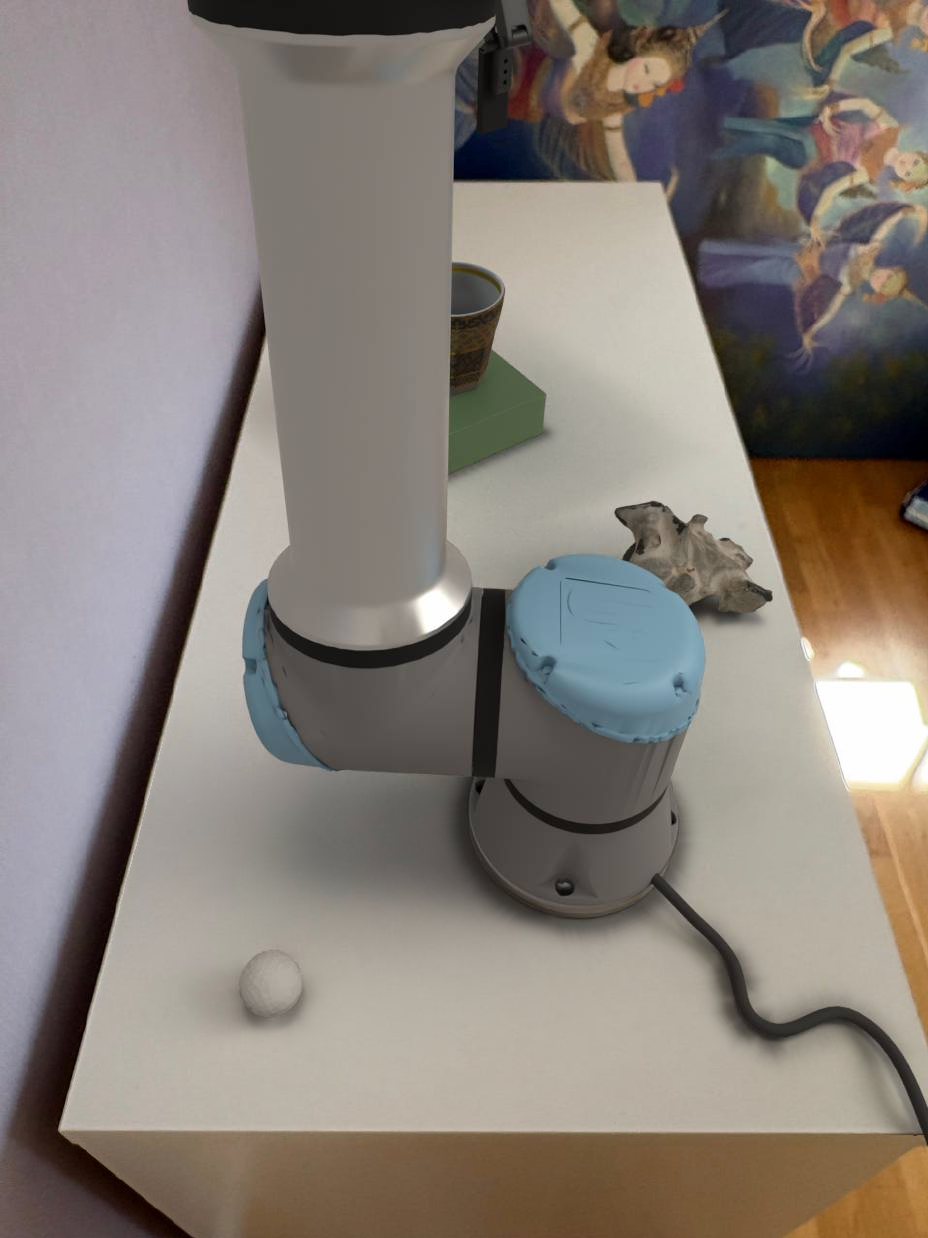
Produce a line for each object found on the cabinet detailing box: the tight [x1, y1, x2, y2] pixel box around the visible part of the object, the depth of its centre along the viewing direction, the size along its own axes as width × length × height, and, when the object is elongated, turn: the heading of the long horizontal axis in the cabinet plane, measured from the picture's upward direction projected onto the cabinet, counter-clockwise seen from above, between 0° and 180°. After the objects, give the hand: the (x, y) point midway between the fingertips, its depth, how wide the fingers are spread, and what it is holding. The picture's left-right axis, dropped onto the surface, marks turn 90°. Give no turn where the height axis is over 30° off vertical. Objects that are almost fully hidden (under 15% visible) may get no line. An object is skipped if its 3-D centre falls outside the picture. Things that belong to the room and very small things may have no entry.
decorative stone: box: [613, 500, 774, 614], centre depth 84 cm, size 16×9×10 cm
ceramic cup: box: [449, 261, 506, 395], centre depth 95 cm, size 13×10×10 cm
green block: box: [448, 348, 547, 475], centre depth 101 cm, size 15×15×5 cm
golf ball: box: [238, 949, 304, 1018], centre depth 61 cm, size 4×4×4 cm
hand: (447, 102), depth 86 cm, fingers open, 13 cm apart
